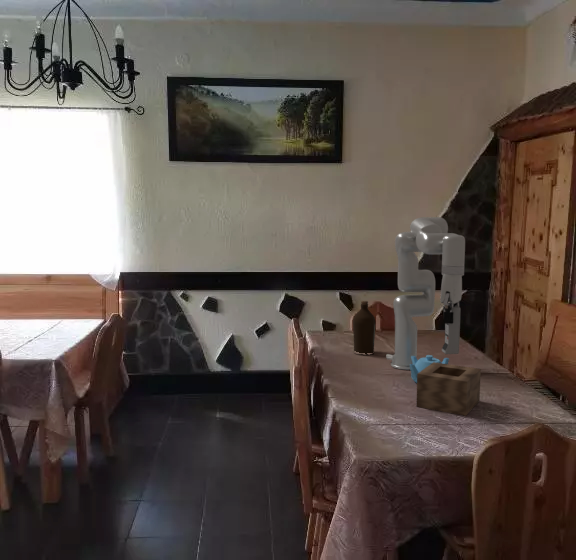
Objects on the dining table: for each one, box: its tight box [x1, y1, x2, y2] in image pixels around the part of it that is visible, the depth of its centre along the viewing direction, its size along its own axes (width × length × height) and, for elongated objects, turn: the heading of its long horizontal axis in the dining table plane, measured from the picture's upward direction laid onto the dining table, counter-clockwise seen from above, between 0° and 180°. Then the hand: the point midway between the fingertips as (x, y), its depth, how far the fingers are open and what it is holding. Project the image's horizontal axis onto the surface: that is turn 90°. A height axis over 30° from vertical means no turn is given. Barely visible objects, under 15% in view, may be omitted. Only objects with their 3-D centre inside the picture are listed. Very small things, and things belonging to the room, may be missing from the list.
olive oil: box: [352, 300, 377, 354], centre depth 284 cm, size 11×11×25 cm
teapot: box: [410, 354, 450, 384], centre depth 240 cm, size 15×15×11 cm
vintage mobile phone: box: [441, 304, 462, 355], centre depth 210 cm, size 4×5×25 cm
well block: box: [416, 362, 482, 417], centre depth 214 cm, size 18×18×12 cm
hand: (451, 321), depth 211 cm, fingers closed on vintage mobile phone, 5 cm apart
